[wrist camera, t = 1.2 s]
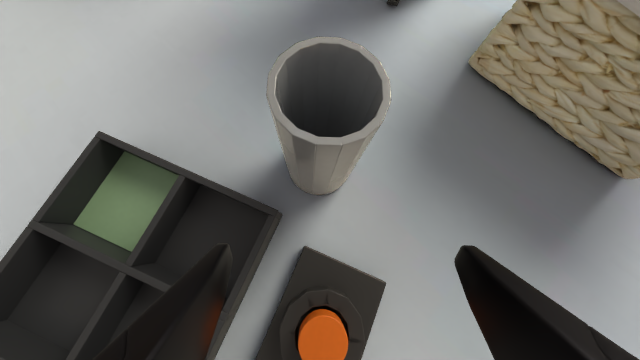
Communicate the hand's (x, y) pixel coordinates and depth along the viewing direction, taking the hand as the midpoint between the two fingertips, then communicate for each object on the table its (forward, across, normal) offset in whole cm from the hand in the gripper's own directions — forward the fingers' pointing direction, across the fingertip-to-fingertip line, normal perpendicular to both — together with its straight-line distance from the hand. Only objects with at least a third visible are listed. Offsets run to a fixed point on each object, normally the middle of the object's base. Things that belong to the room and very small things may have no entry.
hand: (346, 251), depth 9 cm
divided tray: (+8, +16, +12) cm, 21 cm away
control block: (+5, 0, +15) cm, 16 cm away
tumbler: (+16, +1, +5) cm, 16 cm away
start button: (+3, 0, +13) cm, 13 cm away
